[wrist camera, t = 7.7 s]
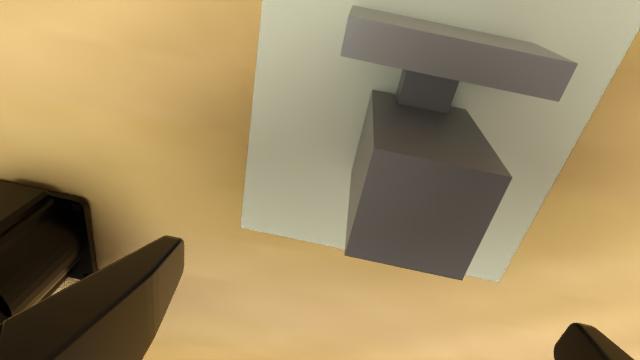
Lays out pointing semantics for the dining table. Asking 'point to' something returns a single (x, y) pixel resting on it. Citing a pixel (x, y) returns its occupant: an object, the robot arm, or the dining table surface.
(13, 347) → the robot arm
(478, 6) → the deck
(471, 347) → the dining table surface
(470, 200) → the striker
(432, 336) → the dining table surface
